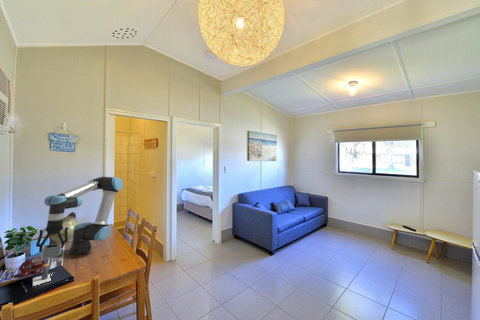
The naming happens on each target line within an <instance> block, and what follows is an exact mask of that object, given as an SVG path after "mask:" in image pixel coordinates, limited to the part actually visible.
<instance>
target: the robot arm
mask: <svg viewBox="0 0 480 320" xmlns="http://www.w3.org/2000/svg"><path fill="white" fill-rule="evenodd" d="M123 187H124V183H123V180H122V179H121V178H119V177H115V176H114V177H112V176H100V177H96V178H93V179H91V180H88V181H87V182H86V183H84V184H81V185H79V186H77V187H73V188H71V189H68V190H65V191H64V192H61V193H58V194H56V195H53V194H52V195H48V196H46V197H45V198H44V205H45V206H47V207H49V209H48V215H47V223H46V227H45V228H43V229H39V235H38V238H37V240H36V244H35V247H37V248H38V247H39V249H38V252H39V253H40V256H41V258H42V257H43V251H44V245H45V243H46V242H47V240H48V238H50V235H52V234H58V236H59V238H60V240H61V243H60V253H59V255H61V250H62V249H63V248H64V245H65V244H66V243H65V242H68V236H67V230H68V227H63V218H64V217H65V210H69V209H73V208H74V209H75V208H78V207H79V208H80V206H82V204H83V198H82V197H81V196H83V195H86V194H87V193H89V192H91V191H97V190H102V192H103V195H102V198H101V202H100V204H99V207H98V211H97V214H96V219H95V221H93V222H82V223H81V222H80V223H79V224H78V225H76V226H75V227H74V232H73V240H72V243H71V246H70V247H69V250H68V255H70V256H78V255H84V254H87V253H89V252H91V251H92V249H93V246H92V242H91V241H95V242H101V241H104V240H105V239H107V238H108V236H109V234H110V232H111V228H110V226H109V223H108V222H109V221H108V220H109V216H110V213H111V211H112V210H111V209H112V206H113V203H114V201H115V197H116V195H117V194H118V193H119V191H121V190H122V189H123ZM62 229H63V230H64V232H65V240H64V241H63V239H62V236H61V234H60V231H61V230H62ZM45 232H46V235H45V236H44V238H43V234H45ZM42 238H43V240H42ZM68 243H69V242H68Z"/></svg>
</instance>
